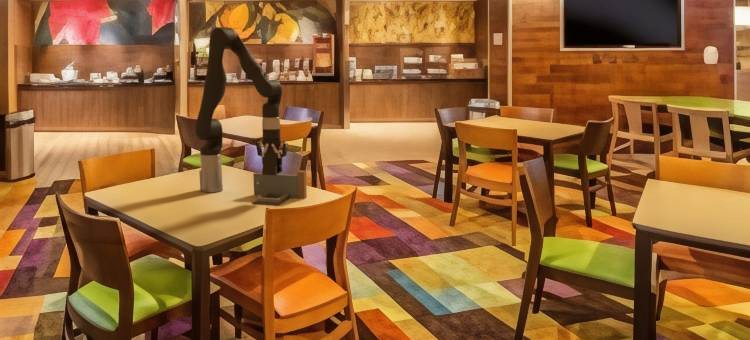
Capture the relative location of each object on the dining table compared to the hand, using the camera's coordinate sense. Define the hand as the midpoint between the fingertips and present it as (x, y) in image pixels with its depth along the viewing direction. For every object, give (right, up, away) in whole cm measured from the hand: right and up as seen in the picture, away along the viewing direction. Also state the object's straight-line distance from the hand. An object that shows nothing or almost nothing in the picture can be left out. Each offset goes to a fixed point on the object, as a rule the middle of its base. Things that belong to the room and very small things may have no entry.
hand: (272, 165), depth 268 cm
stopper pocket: (0, -15, +2) cm, 15 cm away
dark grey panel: (+2, -14, +9) cm, 16 cm away
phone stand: (0, -3, +1) cm, 3 cm away
